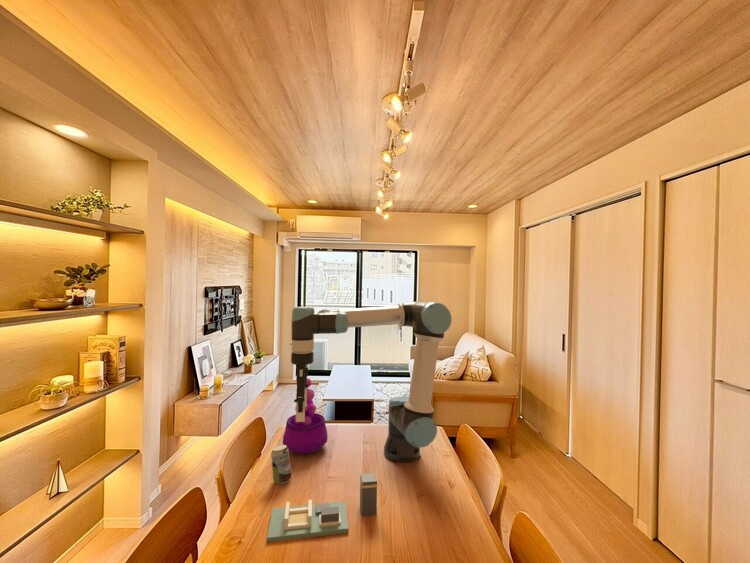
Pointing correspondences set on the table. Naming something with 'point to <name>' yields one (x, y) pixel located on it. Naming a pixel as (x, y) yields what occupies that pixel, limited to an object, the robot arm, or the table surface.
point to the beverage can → (281, 464)
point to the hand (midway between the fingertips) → (301, 413)
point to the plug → (368, 494)
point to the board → (307, 521)
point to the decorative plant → (306, 429)
